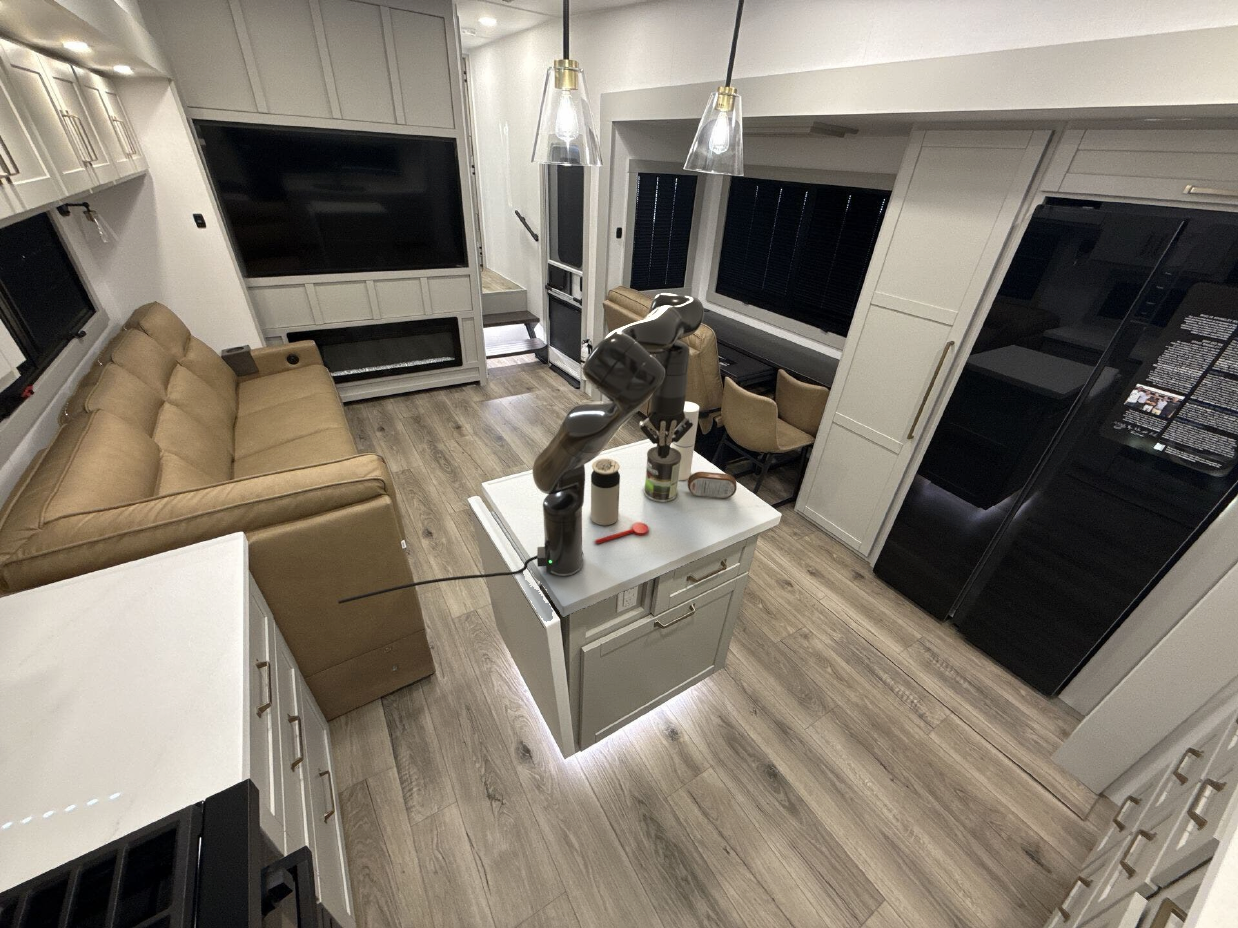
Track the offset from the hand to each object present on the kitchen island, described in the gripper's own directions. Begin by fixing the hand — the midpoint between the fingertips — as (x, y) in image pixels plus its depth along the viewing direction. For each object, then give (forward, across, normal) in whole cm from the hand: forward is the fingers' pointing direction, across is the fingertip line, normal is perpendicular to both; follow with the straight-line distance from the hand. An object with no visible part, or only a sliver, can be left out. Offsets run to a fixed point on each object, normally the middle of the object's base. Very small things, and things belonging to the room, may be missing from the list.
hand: (662, 456), depth 115 cm
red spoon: (+29, -6, +7) cm, 30 cm away
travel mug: (+29, -11, +15) cm, 35 cm away
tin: (+29, +24, +20) cm, 43 cm away
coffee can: (+29, +9, +24) cm, 39 cm away
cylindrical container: (+29, +18, +34) cm, 48 cm away
